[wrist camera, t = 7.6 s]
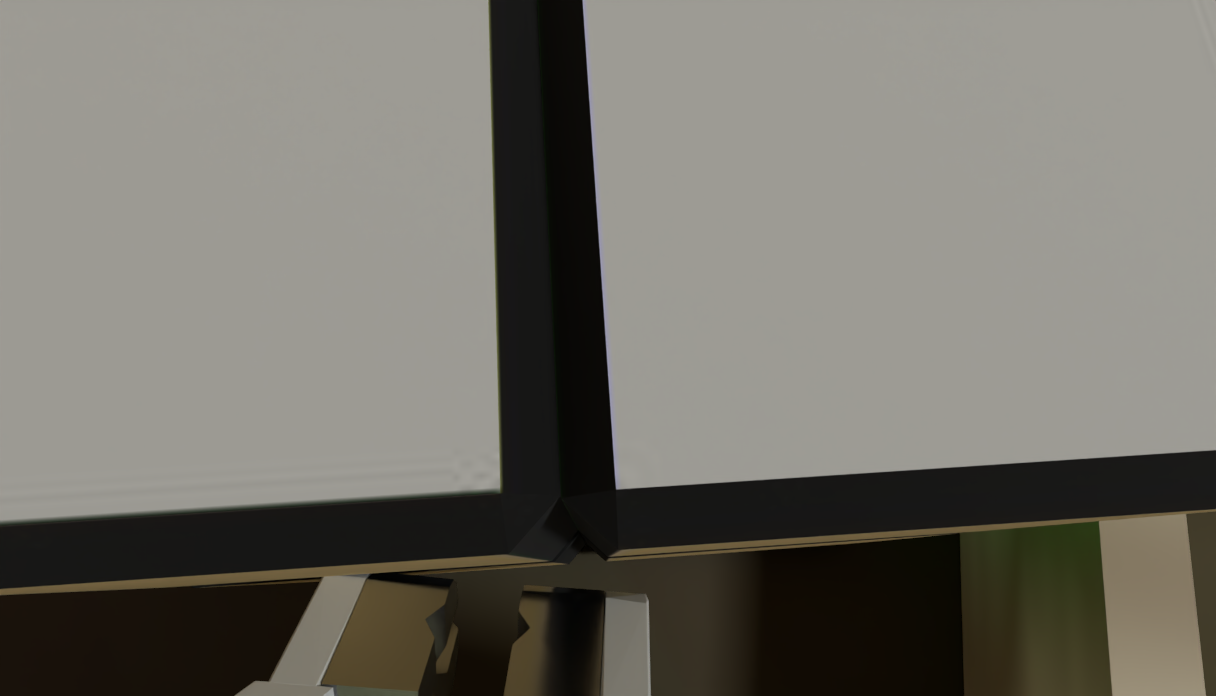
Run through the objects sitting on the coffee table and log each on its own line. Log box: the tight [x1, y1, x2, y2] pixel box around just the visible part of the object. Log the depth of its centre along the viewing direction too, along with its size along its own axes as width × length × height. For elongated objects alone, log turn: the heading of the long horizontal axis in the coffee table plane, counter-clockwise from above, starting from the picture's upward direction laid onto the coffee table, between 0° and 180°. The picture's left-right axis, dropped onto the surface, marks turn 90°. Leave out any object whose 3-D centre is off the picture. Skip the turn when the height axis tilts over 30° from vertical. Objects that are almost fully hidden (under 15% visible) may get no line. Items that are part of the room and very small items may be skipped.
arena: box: [960, 514, 1206, 696], centre depth 12 cm, size 22×18×4 cm
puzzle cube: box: [0, 0, 1216, 595], centre depth 10 cm, size 10×10×10 cm
